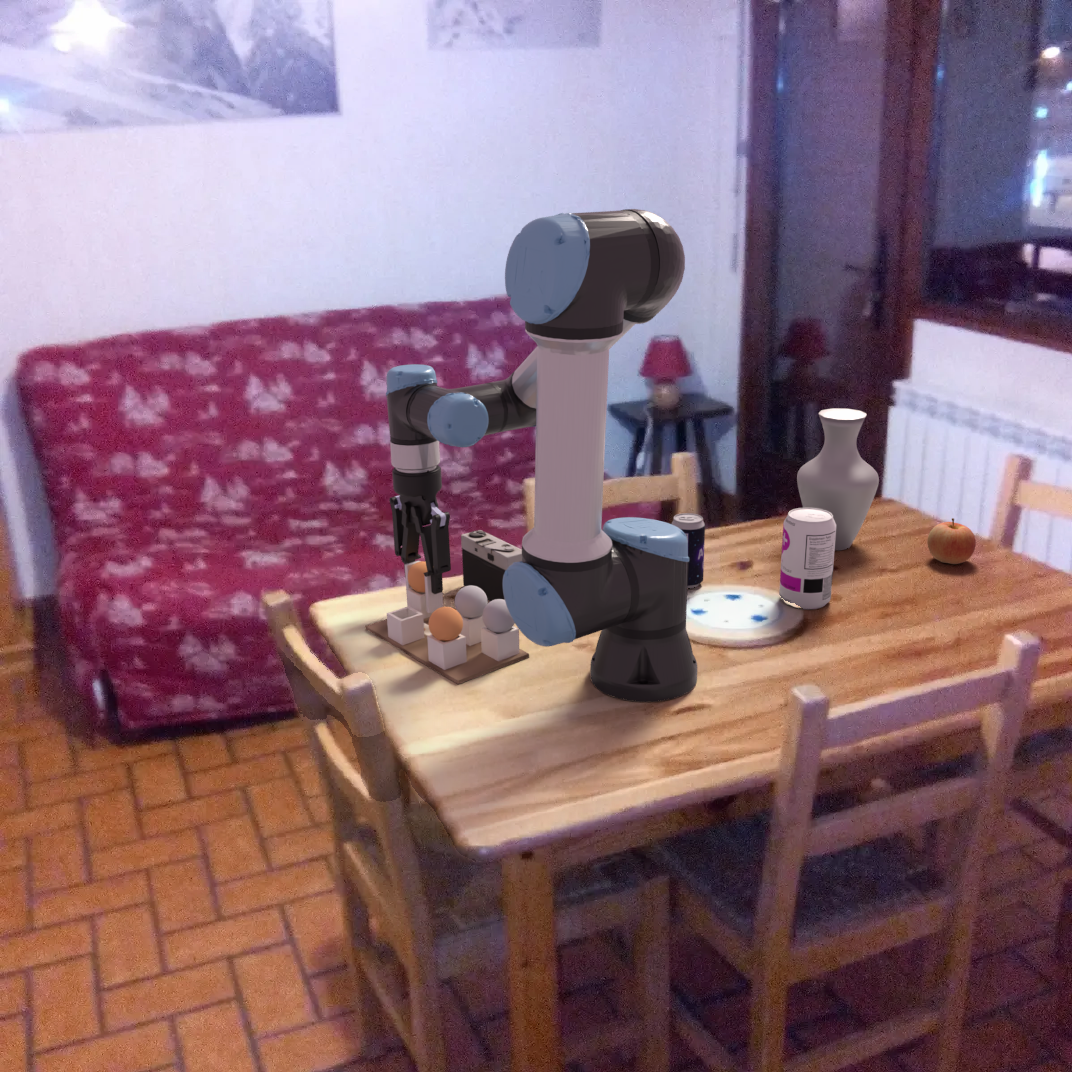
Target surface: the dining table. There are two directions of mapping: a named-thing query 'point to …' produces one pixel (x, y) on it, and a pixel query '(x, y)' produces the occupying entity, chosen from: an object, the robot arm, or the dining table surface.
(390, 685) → the dining table surface
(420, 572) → the orange ball
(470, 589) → the grey ball
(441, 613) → the orange ball
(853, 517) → the vase
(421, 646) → the rack board
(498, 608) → the grey ball
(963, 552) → the apple
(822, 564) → the supplement can
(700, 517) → the beverage can
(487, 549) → the camera
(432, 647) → the tubes
